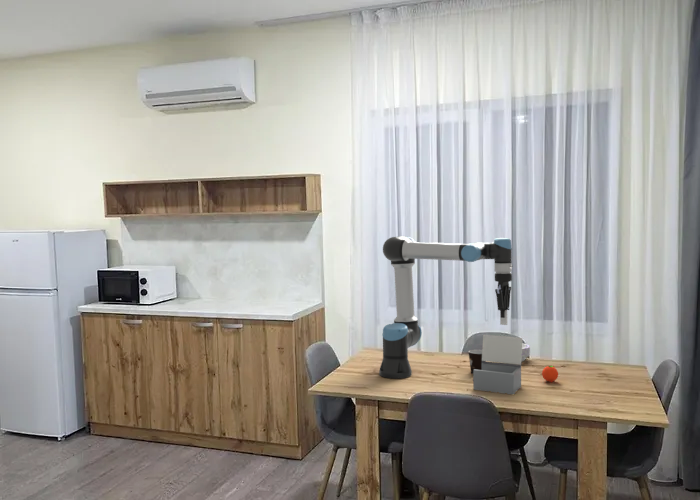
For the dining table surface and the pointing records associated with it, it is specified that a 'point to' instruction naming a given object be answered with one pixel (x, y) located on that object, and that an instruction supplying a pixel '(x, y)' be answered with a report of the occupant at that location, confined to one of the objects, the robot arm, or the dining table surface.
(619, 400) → the dining table surface
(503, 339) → the lid
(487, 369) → the grey box
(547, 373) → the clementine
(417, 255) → the robot arm
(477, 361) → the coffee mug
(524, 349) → the paper bowls
